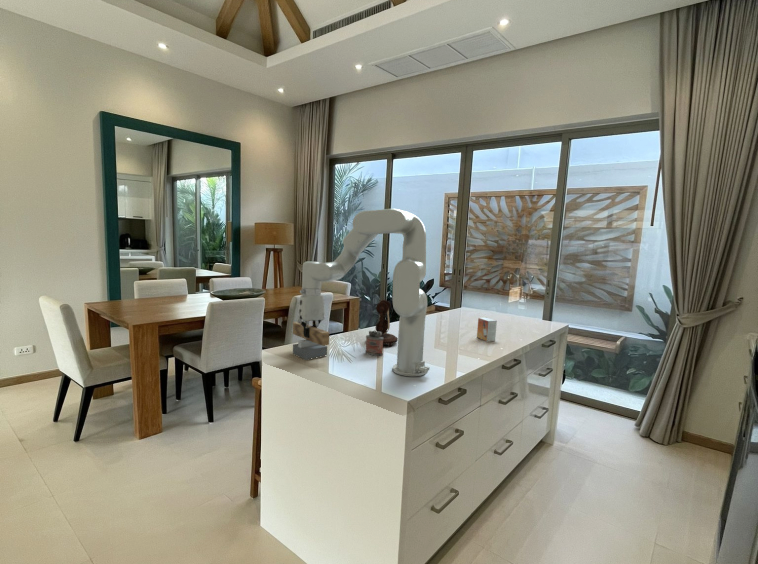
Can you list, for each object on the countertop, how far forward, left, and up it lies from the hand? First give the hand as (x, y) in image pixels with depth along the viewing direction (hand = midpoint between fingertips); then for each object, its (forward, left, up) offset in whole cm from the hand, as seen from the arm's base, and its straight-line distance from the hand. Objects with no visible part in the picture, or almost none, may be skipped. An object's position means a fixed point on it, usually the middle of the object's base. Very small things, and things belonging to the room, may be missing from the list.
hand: (310, 336), depth 161 cm
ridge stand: (0, 0, -8) cm, 8 cm away
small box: (-28, -88, -8) cm, 93 cm away
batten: (0, 0, -1) cm, 1 cm away
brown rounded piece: (-3, -38, -8) cm, 39 cm away
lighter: (-14, -23, -8) cm, 28 cm away
